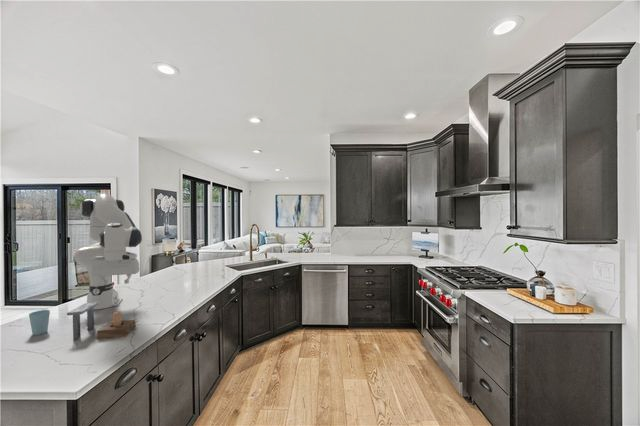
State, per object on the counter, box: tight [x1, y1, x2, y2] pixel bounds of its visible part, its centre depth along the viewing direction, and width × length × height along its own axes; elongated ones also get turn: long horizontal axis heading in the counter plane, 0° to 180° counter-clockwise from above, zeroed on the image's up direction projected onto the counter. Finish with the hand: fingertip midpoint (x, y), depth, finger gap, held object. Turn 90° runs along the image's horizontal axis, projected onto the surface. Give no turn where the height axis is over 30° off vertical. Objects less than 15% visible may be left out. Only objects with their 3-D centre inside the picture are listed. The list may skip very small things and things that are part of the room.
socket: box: [96, 319, 137, 340], centre depth 147 cm, size 12×12×4 cm
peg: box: [112, 311, 122, 327], centre depth 147 cm, size 3×3×10 cm
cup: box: [28, 309, 51, 336], centre depth 149 cm, size 8×8×10 cm
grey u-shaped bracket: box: [66, 302, 98, 341], centre depth 147 cm, size 15×6×13 cm, turn 12°
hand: (116, 283), depth 147 cm, fingers open, 8 cm apart
